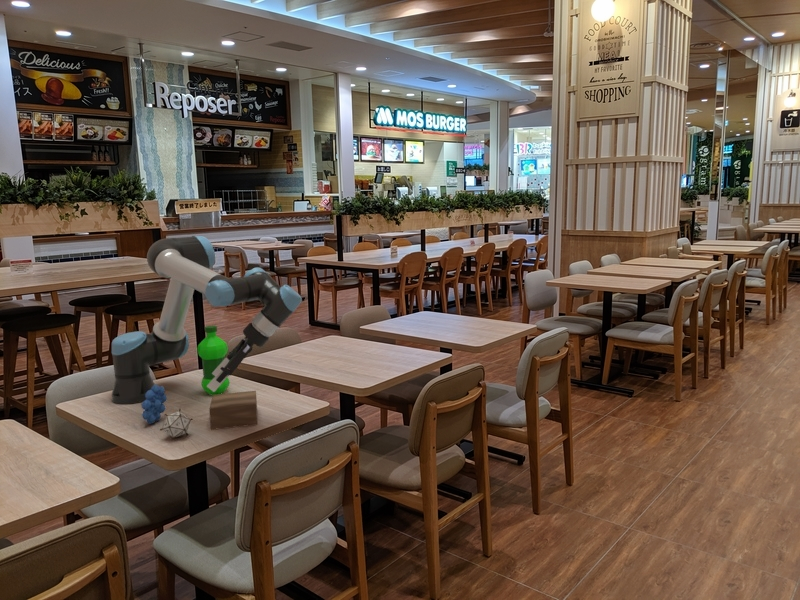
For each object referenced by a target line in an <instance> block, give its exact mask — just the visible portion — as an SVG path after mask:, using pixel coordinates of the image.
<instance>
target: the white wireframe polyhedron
mask: <svg viewBox="0 0 800 600" xmlns="http://www.w3.org/2000/svg"><path fill="white" fill-rule="evenodd" d="M181 410H182V409H181V408H179V409H178V411H174V412H173V413H170V414H168V413H164V416H165V418H164V422H163V426H162V428H160V429H159V431H163V432H165V433H166V434H168V436H170V437H172V439H171V441H174V440H175V438H178V437H181V436H183V435H186V436H189V433H188V430H189V427H190V423H191V421H193V420H194V418H189V417H188V416H187V415H185V414H184V413H183V412H182V411H181Z"/></svg>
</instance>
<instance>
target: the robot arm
mask: <svg viewBox="0 0 800 600" xmlns="http://www.w3.org/2000/svg"><path fill="white" fill-rule="evenodd" d="M146 263H147V264H148V267H149V269H150V270H151V271H152V272H154V273H155V274H156V275H158V276H160V277H162V278H166V279H169V278H170V281H169V284H168V289H167V291H166V294H165V299H164V303H163V307H162V310H161V314H160V318H159V321H158V322H155V324H154V325H153V327H152V331H151V332H150V333H147V334H146V332H145V331H140V330H139V331H138V330H137V331H132V332H131V331H130V332H126V333H124V334H120V335H118V336H117V337H115V338H114V339H112V342H111V355H112V356H111V357H112V363H113V370H114V371H113V372H114V383H113V387H112V391H111V401H112V402H113V403H115V404H119V405H123V404H124V405H125V404H126V405H128V404H129V405H131V404H136V403H143V401H144V400H146V397H145V394H146V392H147V391H148V390H151V388H152V386H153V385H156V384H155V382H154V379H152V376H151V373H150V372H151V371H150V366H153V365H157V364H158V365H159V364H162V363H166V362H170V361H176V360H178V359H180V358H182V357H184V356H185V355H186V354H187V353H188V351H189V348H190V342H189V340H190V338H189V335H188V333H187V331H186V329H185V327H184V326H185V324H186V323H185V322H186V319H187V316H188V313H189V310H190V309H189V308H190V305H191V302H192V299H193V295H194V293H195V290H196V291H198V292H199V293H200V294H203V295H205V299H206V300H207V301H208V302H209V305H210V306H212V307H215V308H217V307H227V306H232V305H236V304H242V303H246V302H251V301H260V303H261V304H262V305H263V306H264V307H262V309H261V310H259V312H258V313H257V314H256V315H255V316H254V317H253V319H252V320H251V322H249V323H248V324H247V325H246V326H245V327H244V328H243V330H242V334H243V335H244V336H245V337H244V338H242V339H241V340H240V341H239V343H238V344H237V345H236V346H235V347H234V348H233V349H232V350H231V351H229V352H228V354H227V355H226V356H227V357H225V359H224V360H223V362H222V363H221V364H220V365H219V366H218V367H217V368H216V369H215V370H214V371H213V373H212V374H213V375H214V376H215V377H214V378H213V380H212V381H211V382H210V383H209V384H208V385H207V387H208V388H209V389H210V390H212V391H213V392H215V391H216V390H217V388H218V387H219V386H220V385H221V384H222V383H223V382H224V381H225V380H226V378H227V377H228V378H229V377H230V376H232V375H233V373H234V372H235V371H236V369H237V368H238V367H239V366H240V365H241V363H242V362H243V361H244V359H245V358H246V357H247V356H248V355H249V354H250V353H251V352H252V350H253V348H254V347H253V346H255V345H256V346H257V347H260V348H261V347H264V346H265V344H266V343H267V342H268V341H269V339H270V338H269V337H272V336H273V335H274V334H275V333H279V328H281V326H282V325H283V323H285V322H286V320H288V319H289V317H290V316H292V314H293V313H294V312H296V309H297V308H298V307H299V306H300V304H301V303H302V302H303V298H302V296H301V295H300V293H298V292H297V291H296V290H295V289H294V288H293V287H291V286H290V285H289V284H283V285H282V286H281V285H279V283H278V282H277V281H275V279H274V278H273V277H272V276H271V275H270V274H269V273H268V272H266V271H265V270H264V269H263V268H262V267H254V268H252V269H249V270H248V271H247V272H246V273H245V274H244V276H239V277H232V278H231V277H227V276H225V275H223V274H220V273H219V272H216V271H214V270H213V269H210V268H213V267H214V265H215V263H216V253H215V249H214V246H213V244H212V242H211V240H209V239H208V238H207V237H205V236H203V235H192V236H185V237H184V236H183V237H181V236H180V237H165V238H162V239H159V240H157V241H155V242H154V243H152V245H151V246H150V247H149V249H148V251H147V254H146Z"/></svg>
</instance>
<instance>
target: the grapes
mask: <svg viewBox="0 0 800 600" xmlns="http://www.w3.org/2000/svg"><path fill="white" fill-rule="evenodd" d="M165 392H166V391H165V387H164V386H162V385H160V386H159V385H158V384H155V385H153V386H152V388H151V390H148V391H147V392H146V394H145V397H146V400H144V401H143V402H141V408H142V409H143V412H142V413H141V416H142V418H143V419H144V420H145V421H146V423H147V424H149V425H151V424H153V423H155V422H159V420H161V417H162V414H163V413H164V412H165V411H166V405H165V404H164V403H166V402H167V400H168V397H167V394H165Z"/></svg>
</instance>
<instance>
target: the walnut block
mask: <svg viewBox="0 0 800 600" xmlns="http://www.w3.org/2000/svg"><path fill="white" fill-rule="evenodd" d="M208 411H209V419H210V421H209V422H210V430H217V429H216V428H220V429H226V428H225V427H229V428H234V427H233V426H238V427H245V426H244V425H248V426H256V425H255V424H257V425H258V401H257V391H256V390H247V391H241V392H240V391H238V392H237V391H236V392H229V393H222V394H216V395H211V400H210V405H209V409H208Z"/></svg>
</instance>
